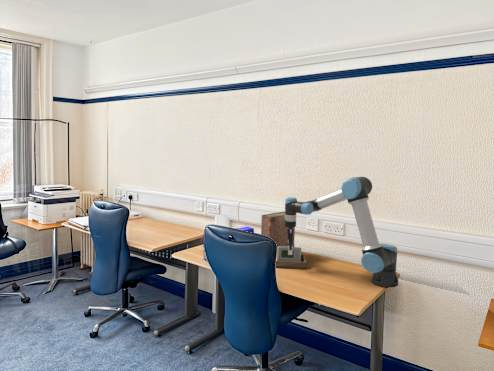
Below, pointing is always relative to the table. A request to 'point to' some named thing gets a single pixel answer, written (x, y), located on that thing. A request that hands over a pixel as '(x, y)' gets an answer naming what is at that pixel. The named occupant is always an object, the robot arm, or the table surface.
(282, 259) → the digital clock
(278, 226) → the book
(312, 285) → the table surface
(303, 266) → the brown rectangular tray
